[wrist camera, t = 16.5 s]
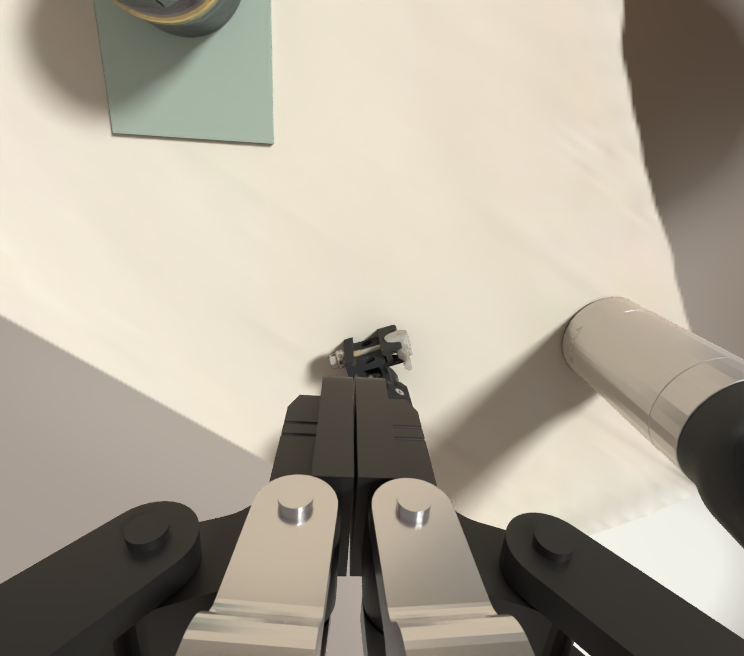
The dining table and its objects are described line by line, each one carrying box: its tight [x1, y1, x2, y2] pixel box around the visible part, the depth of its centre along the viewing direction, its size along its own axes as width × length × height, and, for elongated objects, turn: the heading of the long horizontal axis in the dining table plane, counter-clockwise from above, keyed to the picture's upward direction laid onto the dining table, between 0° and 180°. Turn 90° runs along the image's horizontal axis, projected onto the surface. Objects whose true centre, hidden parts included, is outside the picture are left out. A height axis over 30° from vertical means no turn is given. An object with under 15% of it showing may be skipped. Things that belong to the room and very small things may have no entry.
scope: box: [329, 325, 413, 405], centre depth 40 cm, size 8×14×10 cm
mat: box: [94, 0, 274, 144], centre depth 33 cm, size 13×18×1 cm
